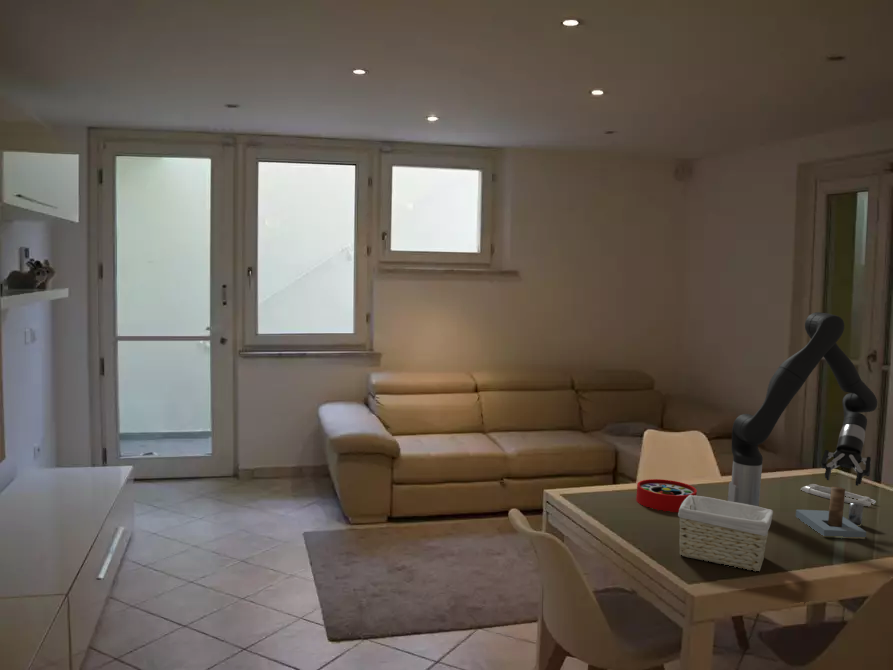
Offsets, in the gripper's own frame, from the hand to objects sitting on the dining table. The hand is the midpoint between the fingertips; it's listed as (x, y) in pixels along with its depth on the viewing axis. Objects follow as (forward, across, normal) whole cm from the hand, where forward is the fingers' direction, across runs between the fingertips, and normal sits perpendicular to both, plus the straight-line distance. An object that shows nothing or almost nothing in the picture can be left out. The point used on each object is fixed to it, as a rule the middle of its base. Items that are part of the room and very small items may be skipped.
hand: (842, 481), depth 252 cm
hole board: (+13, -2, +8) cm, 15 cm away
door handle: (-15, -6, +37) cm, 40 cm away
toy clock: (+22, -52, 0) cm, 56 cm away
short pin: (+6, +4, +15) cm, 17 cm away
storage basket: (+49, -21, -27) cm, 60 cm away
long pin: (+15, 0, +6) cm, 16 cm away
